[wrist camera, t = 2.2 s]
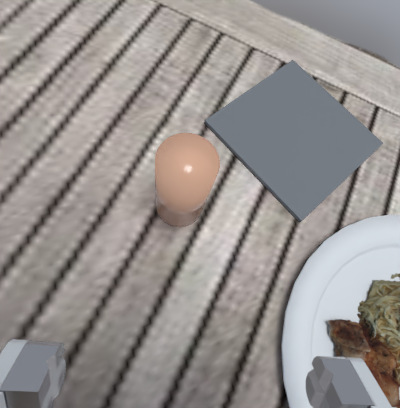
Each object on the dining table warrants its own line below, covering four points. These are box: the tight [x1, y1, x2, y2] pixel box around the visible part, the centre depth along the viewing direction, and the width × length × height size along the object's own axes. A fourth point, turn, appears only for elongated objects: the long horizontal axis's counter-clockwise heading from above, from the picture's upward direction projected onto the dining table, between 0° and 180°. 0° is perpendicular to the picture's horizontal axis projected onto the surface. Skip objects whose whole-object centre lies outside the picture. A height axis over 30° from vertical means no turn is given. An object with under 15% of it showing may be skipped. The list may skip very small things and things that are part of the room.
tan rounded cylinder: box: [155, 133, 220, 227], centre depth 28 cm, size 5×5×10 cm
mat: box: [204, 60, 383, 222], centre depth 38 cm, size 16×16×1 cm
